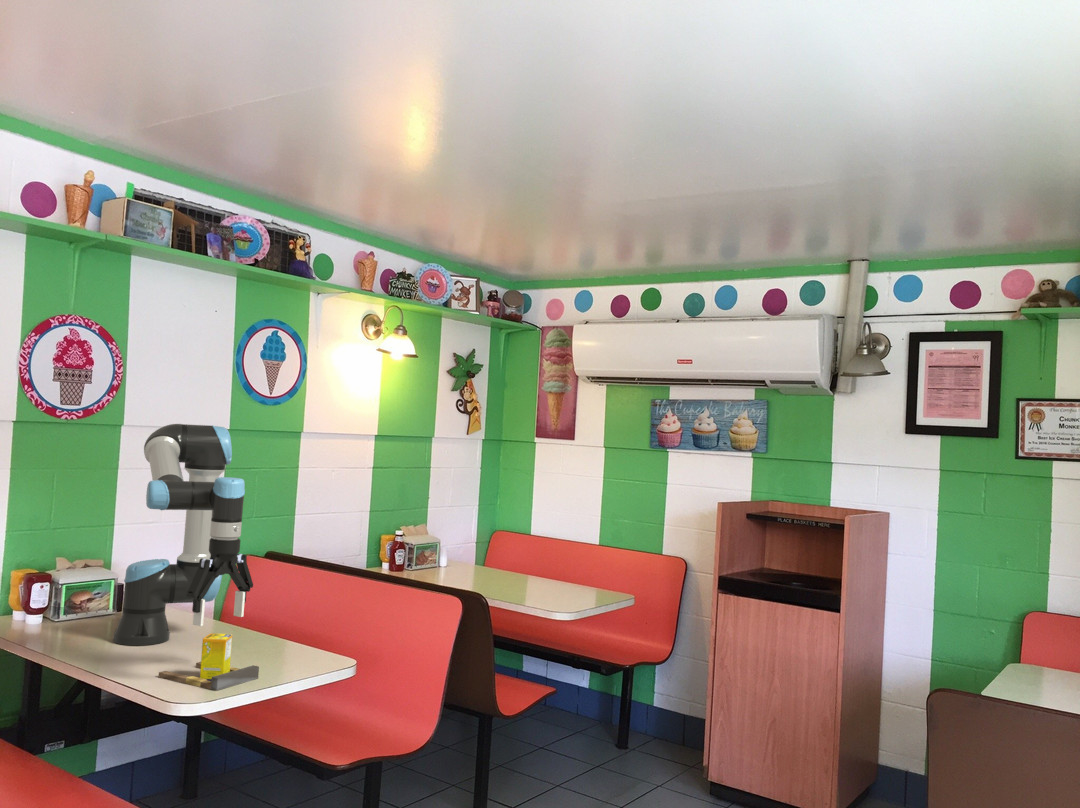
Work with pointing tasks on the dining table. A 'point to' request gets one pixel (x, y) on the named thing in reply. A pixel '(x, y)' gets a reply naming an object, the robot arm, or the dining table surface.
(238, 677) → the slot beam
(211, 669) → the supplement box
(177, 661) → the dining table surface
